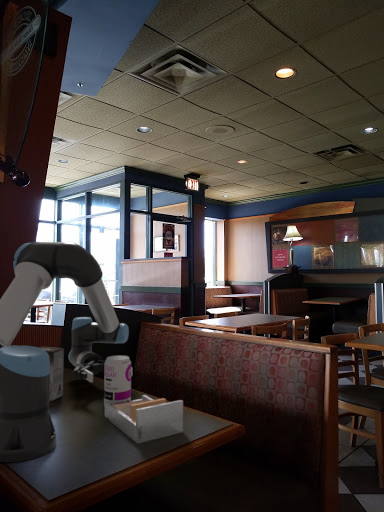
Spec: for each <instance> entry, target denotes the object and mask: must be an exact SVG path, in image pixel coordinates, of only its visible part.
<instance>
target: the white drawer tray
mask: <svg viewBox="0 0 384 512" xmlns="http://www.w3.org/2000/svg"><path fill="white" fill-rule="evenodd" d="M152 400H154V399H153V398H151V397H150V396H148V395H146V394H142V395H141V398H140V399H139V398H138V399H133V400H131V401H127V402H122V403H117V404H111V403H109V402H105V406H104V417H105V418H106V419H107V418H108V419H109V420H108V419H107V420H108V421H110V422H111V423H112V424H113V425H114V426H116V427H117V428H118V429H119V430H120V431H122V432H123V433H124V434H126V435H127V437H129V438H130V439H131V440H132V441H133V442H135V443H137V444H141V443H145V442H149V441H150V442H151V441H154V440H157V439H162V438H165V437H169V436H172V435H177V434H180V433H184V400H182V399H179V400H178V399H177V400H174V401H170V402H166V403H163V404H159V405H154V406H149V407H144V408H139V409H136V422H135V421H134V420H132V419H131V418H130V405H131V404H136V403H142V402H147V401H152Z"/></svg>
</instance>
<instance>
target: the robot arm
mask: <svg viewBox="0 0 384 512" xmlns="http://www.w3.org/2000/svg"><path fill="white" fill-rule="evenodd" d="M13 258H14V260H13V262H12V263H13V270H14V275H15V277H14V278H13V279H12V282H10V284H9V286H8V288H7V289H6V290H5V292H4V293H3V295H2V296H1V298H0V463H17V462H18V463H19V462H24V461H29V460H32V459H36V458H40V457H42V456H44V455H47V454H48V453H49V452H50V451H52V450H53V449H54V448H55V447H56V446H57V432H56V428H55V425H54V423H53V420H52V417H51V413H50V400H49V389H50V371H51V369H50V360H49V355H48V353H47V352H46V351H45V350H43V349H41V348H39V346H38V347H37V346H32V345H23V344H22V345H16V344H15V345H12V343H13V341H14V340H15V338H16V336H17V335H18V333H19V331H20V330H21V327H22V326H23V325H24V324H23V323H24V322H25V321H26V318H28V315H29V313H30V312H31V310H32V308H33V307H34V304H36V301H37V299H38V297H39V296H40V295H41V292H42V291H43V290H46V289H48V288H49V287H51V286H52V283H53V281H54V280H55V279H70V280H72V281H73V282H74V284H75V286H77V287H78V288H80V290H81V292H82V295H83V296H84V299H85V301H86V304H87V305H88V307H89V310H90V311H91V313H92V315H93V317H94V319H95V320H94V321H95V322H93V319H92V318H91V316H89V317H88V316H80V317H79V316H78V317H75V318H73V320H72V326H71V350H70V351H69V353H68V360H69V362H70V363H71V365H72V366H73V367H75V368H74V370H73V378H74V379H77V378H78V377H79V381H84V379H85V380H87V382H89V383H94V375H97V374H99V373H101V372H104V363H105V361H106V360H103V357H102V356H101V355H99V354H97V353H95V352H93V351H92V350H93V349H92V346H93V343H99V344H100V343H101V344H125V343H126V342H127V341H128V340H129V334H130V333H129V332H130V331H129V326H128V324H126V323H123V322H121V323H120V322H119V318H118V317H117V314H116V311H115V309H114V306H113V303H112V302H111V299H110V297H109V294H108V292H107V289H106V287H105V284H104V282H103V274H104V273H103V269H102V268H101V266H100V264H99V262H98V260H96V258H95V256H94V255H92V254H91V253H90V252H89V251H88V250H87V249H86V248H84V247H83V246H82V245H80V244H77V243H76V242H72V241H71V242H70V241H33V242H26V243H23V244H21V246H20V247H18V249H17V250H16V251H15V253H14V257H13ZM131 377H133V367H131Z"/></svg>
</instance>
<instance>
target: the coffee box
mask: <svg viewBox="0 0 384 512" xmlns="http://www.w3.org/2000/svg"><path fill="white" fill-rule="evenodd" d="M38 348H41V349H43V350H45V351H46V352H47V353H48V355H49V360H50V369H51V371H50V389H49V402H50V401H54V400H55V401H56V399H58V398H60V397H62V396H64V394H63V393H64V391H63V390H64V362H65V361H64V357H65V355H64V354H65V348H63V347H53V346H44V345H43V346H38Z"/></svg>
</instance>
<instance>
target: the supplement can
mask: <svg viewBox="0 0 384 512" xmlns="http://www.w3.org/2000/svg"><path fill="white" fill-rule="evenodd" d="M104 361H105V363H104V371H103V372H104V375H103V376H104V380H103V383H104V385H103V387H104V388H103V406H104V407H105V402H109V403H111V404H117V403H122V402H127V401H132V376H131V368H132V361H131V360H130V356H128V355H118V354H117V355H111V356H107V357H106V359H105V360H104Z"/></svg>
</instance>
